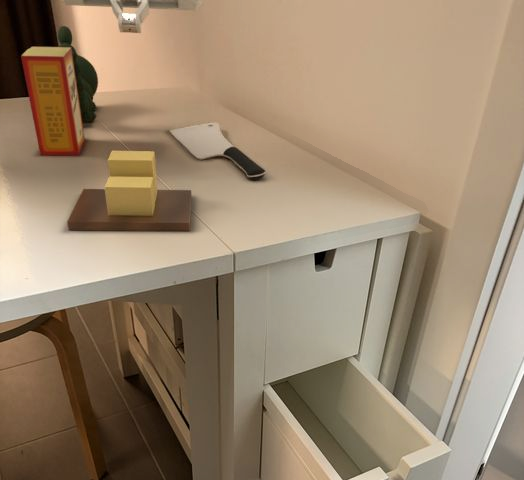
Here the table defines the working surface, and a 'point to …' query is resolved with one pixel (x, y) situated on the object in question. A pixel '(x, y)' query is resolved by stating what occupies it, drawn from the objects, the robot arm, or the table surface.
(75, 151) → the baking soda box
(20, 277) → the table surface
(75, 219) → the butter board
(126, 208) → the block
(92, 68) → the toy figurine
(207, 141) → the kitchen cleaver
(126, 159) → the base
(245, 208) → the table surface
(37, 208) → the table surface
